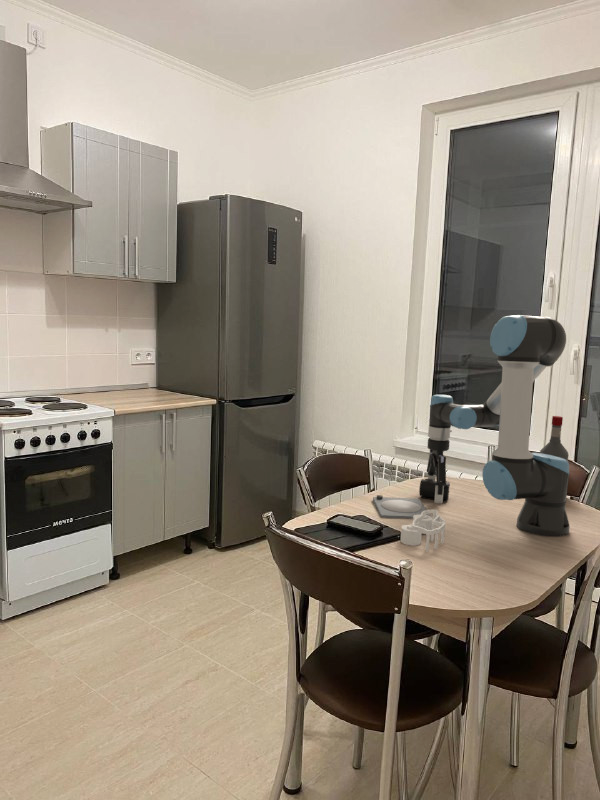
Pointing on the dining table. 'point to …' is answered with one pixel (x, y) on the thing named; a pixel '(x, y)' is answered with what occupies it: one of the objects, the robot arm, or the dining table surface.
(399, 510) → the plate
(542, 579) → the dining table surface
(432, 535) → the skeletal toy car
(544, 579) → the dining table surface
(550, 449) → the liquor
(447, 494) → the end cap
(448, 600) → the dining table surface
